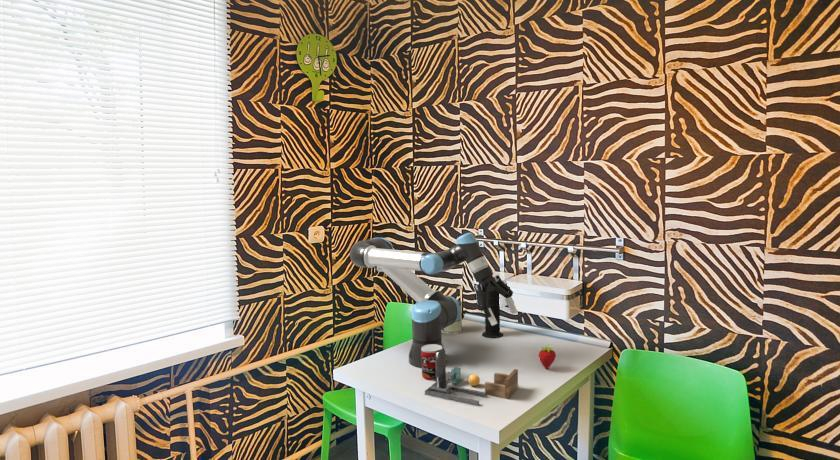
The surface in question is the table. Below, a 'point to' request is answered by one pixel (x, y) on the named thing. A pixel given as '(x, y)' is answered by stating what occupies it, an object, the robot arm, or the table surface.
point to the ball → (474, 380)
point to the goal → (503, 385)
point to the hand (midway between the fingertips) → (505, 318)
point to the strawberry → (547, 356)
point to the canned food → (429, 361)
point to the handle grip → (493, 304)
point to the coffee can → (455, 324)
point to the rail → (456, 398)
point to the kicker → (444, 374)
